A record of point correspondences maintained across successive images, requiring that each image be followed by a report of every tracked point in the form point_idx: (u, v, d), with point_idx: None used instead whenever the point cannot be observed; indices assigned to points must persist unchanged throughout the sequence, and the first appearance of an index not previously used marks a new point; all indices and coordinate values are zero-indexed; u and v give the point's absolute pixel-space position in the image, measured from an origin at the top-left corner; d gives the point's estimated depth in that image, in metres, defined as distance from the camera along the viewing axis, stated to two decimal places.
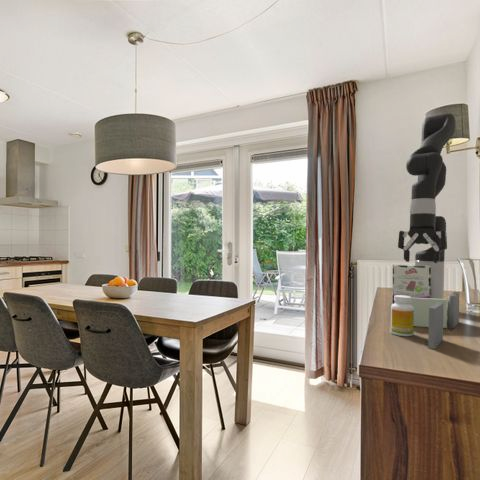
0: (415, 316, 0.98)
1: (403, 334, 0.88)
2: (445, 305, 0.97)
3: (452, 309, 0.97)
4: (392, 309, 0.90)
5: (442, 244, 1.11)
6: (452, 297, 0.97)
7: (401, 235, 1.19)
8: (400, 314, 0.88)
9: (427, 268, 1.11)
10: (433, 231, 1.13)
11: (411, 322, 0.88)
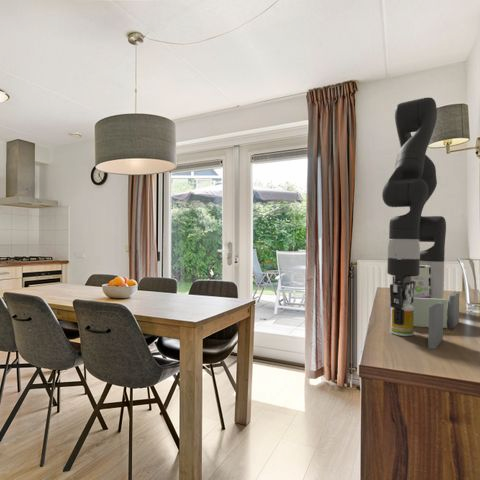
0: (415, 316, 0.98)
1: (403, 334, 0.88)
2: (445, 305, 0.97)
3: (452, 309, 0.97)
4: (392, 309, 0.90)
5: (412, 297, 0.94)
6: (452, 297, 0.97)
7: (401, 291, 0.85)
8: None
9: (427, 268, 1.11)
10: (410, 280, 0.93)
11: (411, 322, 0.88)
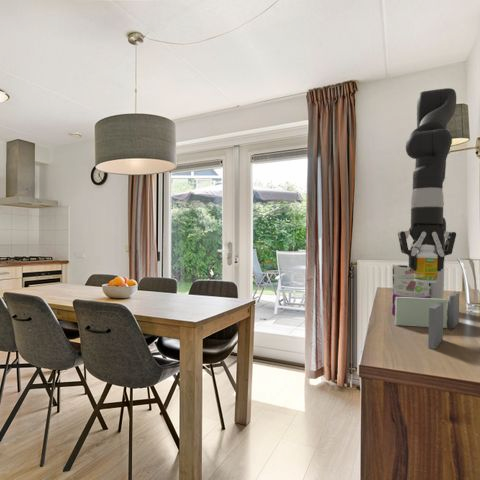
0: (415, 316, 0.98)
1: (416, 280, 0.92)
2: (445, 305, 0.97)
3: (452, 309, 0.97)
4: None
5: (449, 248, 0.91)
6: (452, 297, 0.97)
7: (404, 237, 0.92)
8: None
9: None
10: (442, 230, 0.91)
11: (425, 269, 0.90)
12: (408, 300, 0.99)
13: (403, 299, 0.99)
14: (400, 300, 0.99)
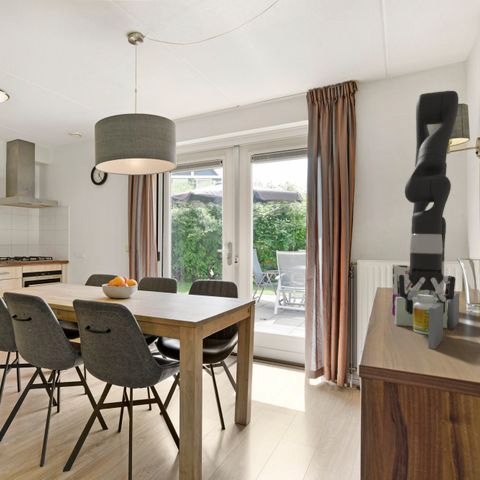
0: None
1: (415, 330, 0.92)
2: (445, 305, 0.97)
3: (452, 309, 0.97)
4: None
5: (450, 293, 0.90)
6: None
7: (402, 280, 0.92)
8: (414, 311, 0.93)
9: None
10: (441, 275, 0.91)
11: (424, 320, 0.90)
12: None
13: (403, 299, 0.99)
14: (400, 300, 0.99)
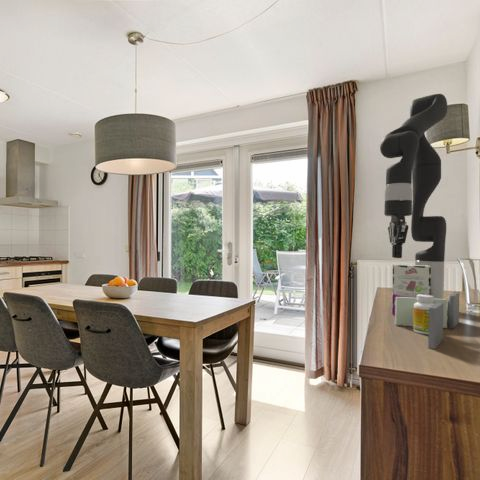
0: None
1: (415, 330, 0.92)
2: (445, 305, 0.97)
3: (452, 309, 0.97)
4: None
5: None
6: (452, 297, 0.97)
7: None
8: (414, 311, 0.93)
9: (427, 268, 1.10)
10: None
11: (424, 320, 0.90)
12: (408, 300, 0.99)
13: (403, 299, 0.99)
14: (400, 300, 0.99)
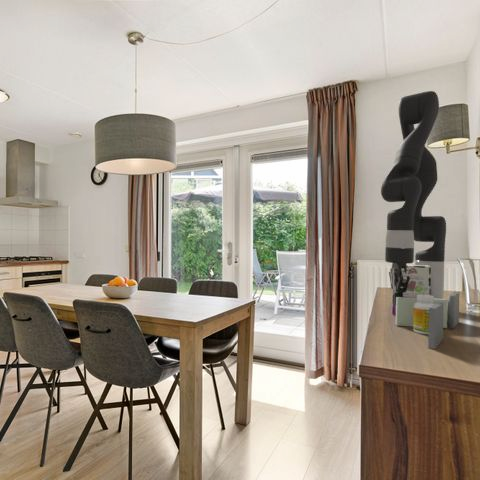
0: None
1: (415, 330, 0.92)
2: (445, 305, 0.97)
3: (452, 309, 0.97)
4: None
5: None
6: (452, 297, 0.97)
7: None
8: (414, 311, 0.93)
9: (427, 268, 1.11)
10: None
11: (424, 320, 0.90)
12: (409, 300, 0.98)
13: (404, 299, 0.98)
14: (401, 300, 0.99)
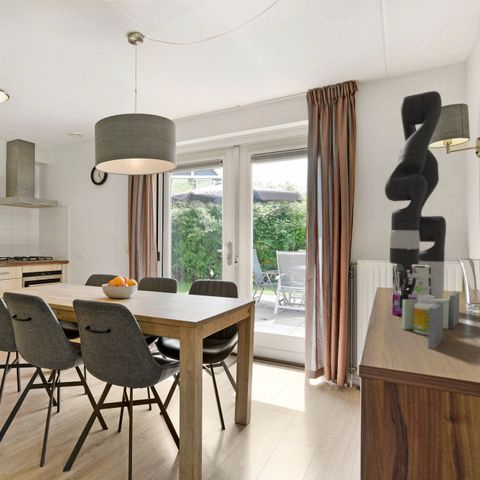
0: None
1: (416, 330, 0.92)
2: (447, 305, 0.97)
3: (452, 309, 0.97)
4: None
5: None
6: (452, 297, 0.97)
7: None
8: (414, 311, 0.93)
9: (427, 268, 1.11)
10: None
11: (424, 321, 0.90)
12: (415, 302, 0.95)
13: (411, 302, 0.95)
14: (408, 302, 0.95)
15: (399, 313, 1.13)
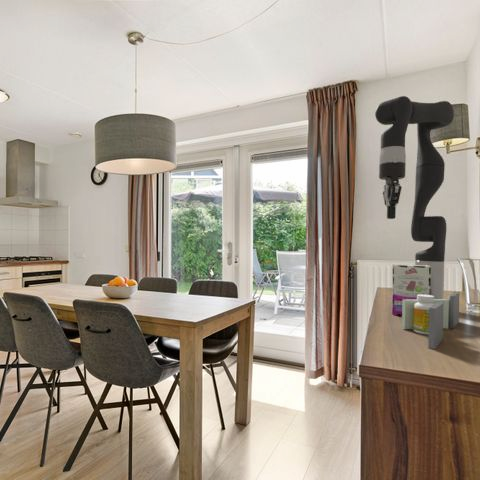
0: None
1: (416, 330, 0.92)
2: (447, 305, 0.97)
3: (452, 309, 0.97)
4: None
5: None
6: (452, 297, 0.97)
7: None
8: (414, 311, 0.93)
9: (427, 268, 1.10)
10: None
11: (424, 320, 0.90)
12: (415, 302, 0.95)
13: (411, 302, 0.95)
14: (408, 302, 0.95)
15: (399, 313, 1.13)
